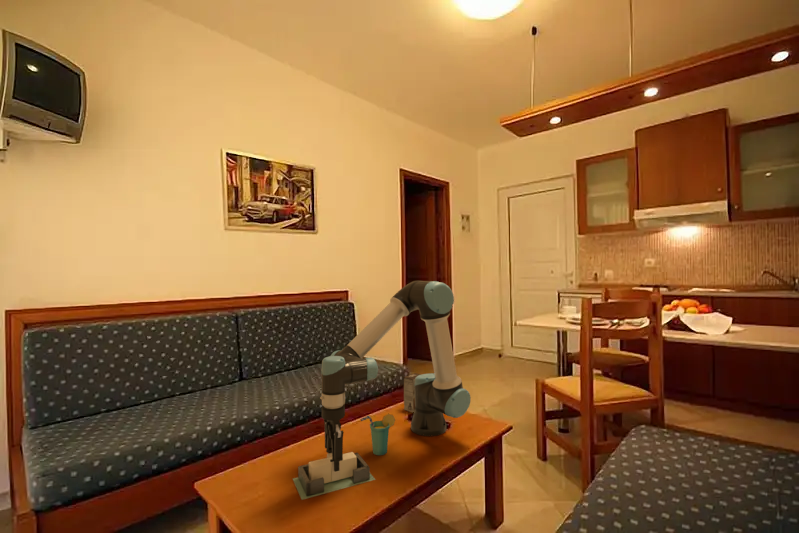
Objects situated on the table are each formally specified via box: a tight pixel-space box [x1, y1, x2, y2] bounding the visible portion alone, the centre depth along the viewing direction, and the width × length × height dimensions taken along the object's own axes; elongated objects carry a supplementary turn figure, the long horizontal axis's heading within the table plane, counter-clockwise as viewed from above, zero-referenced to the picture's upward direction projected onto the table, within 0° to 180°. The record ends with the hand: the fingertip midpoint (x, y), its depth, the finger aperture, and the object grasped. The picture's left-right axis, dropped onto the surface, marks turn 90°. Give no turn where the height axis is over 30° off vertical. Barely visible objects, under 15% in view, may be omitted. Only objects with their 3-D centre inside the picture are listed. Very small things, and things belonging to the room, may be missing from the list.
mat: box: [292, 472, 376, 501], centre depth 129 cm, size 24×13×1 cm, turn 117°
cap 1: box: [297, 463, 324, 497], centre depth 126 cm, size 5×11×4 cm, turn 27°
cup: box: [360, 412, 396, 456], centre depth 147 cm, size 14×8×15 cm, turn 123°
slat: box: [308, 451, 357, 484], centre depth 129 cm, size 15×4×6 cm, turn 117°
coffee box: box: [403, 372, 422, 413], centre depth 192 cm, size 9×6×16 cm
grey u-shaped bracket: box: [350, 452, 371, 484], centre depth 133 cm, size 5×11×4 cm, turn 27°
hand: (333, 476), depth 129 cm, fingers closed on slat, 4 cm apart
